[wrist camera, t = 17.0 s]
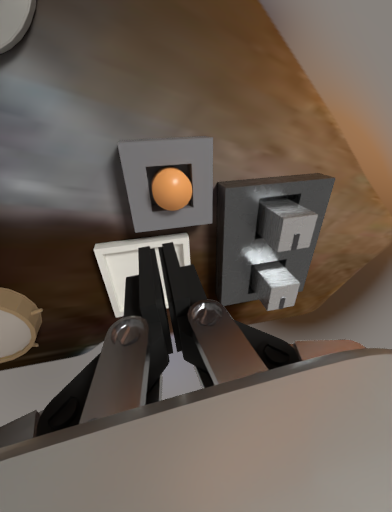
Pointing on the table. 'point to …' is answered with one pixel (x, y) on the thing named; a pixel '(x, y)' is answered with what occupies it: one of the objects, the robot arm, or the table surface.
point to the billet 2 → (273, 285)
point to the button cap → (171, 188)
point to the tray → (133, 263)
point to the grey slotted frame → (250, 242)
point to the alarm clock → (17, 324)
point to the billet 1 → (285, 223)
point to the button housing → (162, 155)
